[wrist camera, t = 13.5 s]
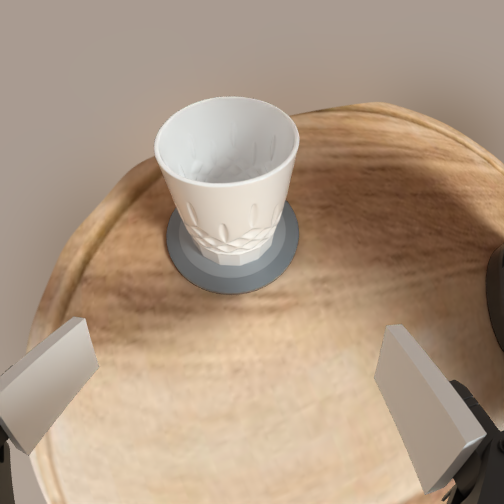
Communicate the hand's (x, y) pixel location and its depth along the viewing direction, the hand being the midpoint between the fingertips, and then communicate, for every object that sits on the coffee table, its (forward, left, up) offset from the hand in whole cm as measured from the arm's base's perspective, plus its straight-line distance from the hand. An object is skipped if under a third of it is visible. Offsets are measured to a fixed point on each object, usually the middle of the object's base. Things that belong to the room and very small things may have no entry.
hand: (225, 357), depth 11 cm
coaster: (+1, -11, -9) cm, 14 cm away
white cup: (+1, -11, -8) cm, 14 cm away
